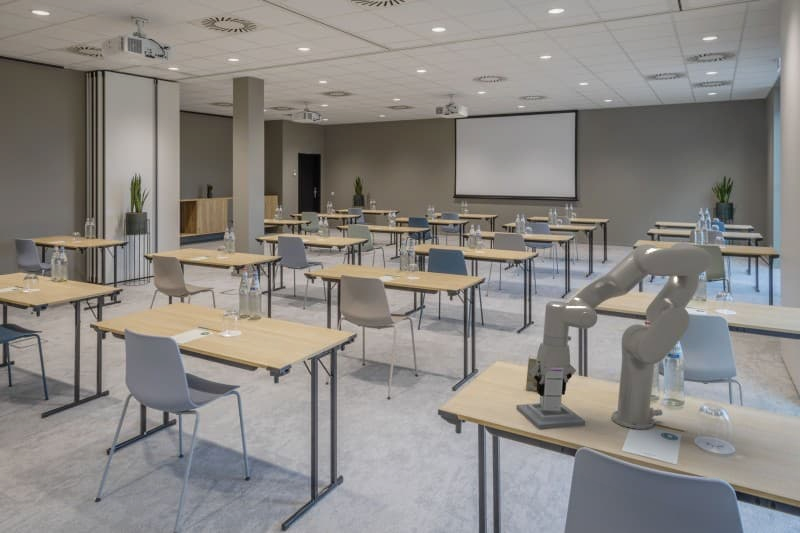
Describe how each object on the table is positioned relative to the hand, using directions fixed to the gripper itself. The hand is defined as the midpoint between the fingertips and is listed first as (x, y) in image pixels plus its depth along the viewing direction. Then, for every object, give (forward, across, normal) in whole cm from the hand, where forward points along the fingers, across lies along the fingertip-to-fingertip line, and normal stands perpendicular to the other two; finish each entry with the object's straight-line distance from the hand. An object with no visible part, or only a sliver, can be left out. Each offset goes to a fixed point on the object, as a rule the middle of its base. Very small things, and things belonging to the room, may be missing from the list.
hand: (550, 393), depth 188 cm
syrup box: (+5, 0, 0) cm, 5 cm away
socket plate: (+8, 0, 0) cm, 8 cm away
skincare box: (+8, -7, -24) cm, 26 cm away
